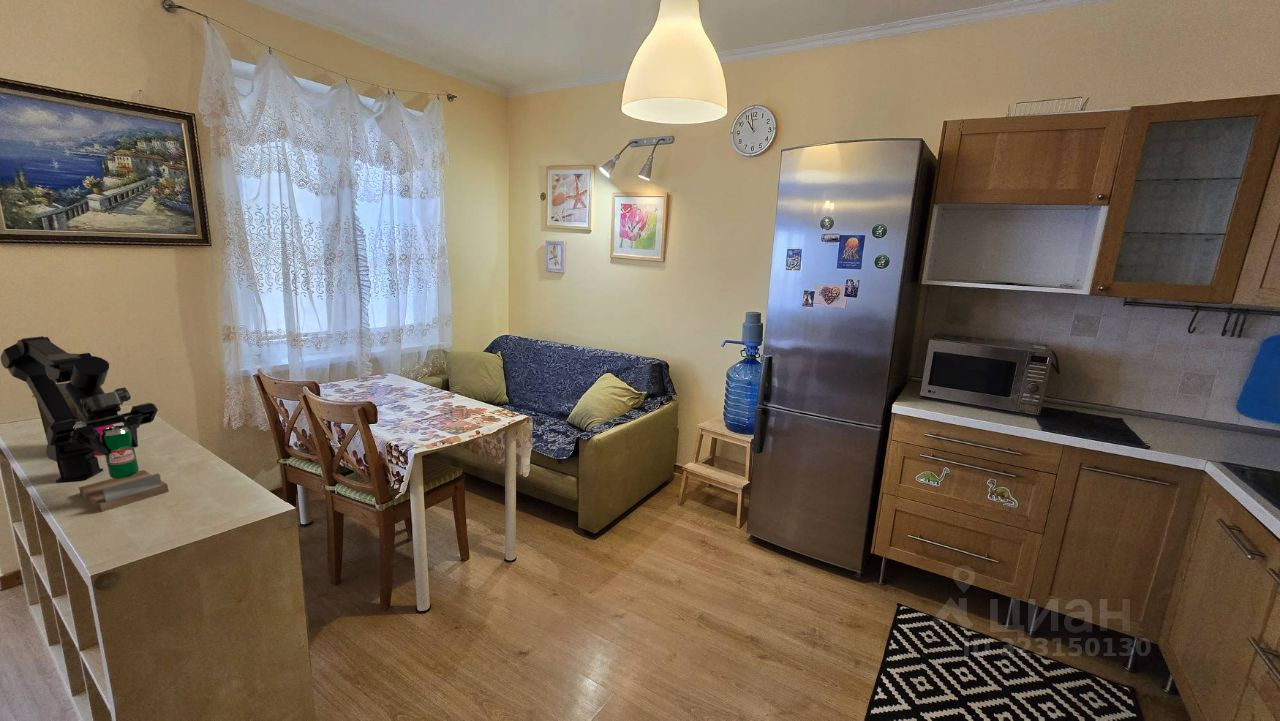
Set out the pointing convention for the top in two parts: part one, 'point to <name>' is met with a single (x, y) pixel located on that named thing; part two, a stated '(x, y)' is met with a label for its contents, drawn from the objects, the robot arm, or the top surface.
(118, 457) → the soda can
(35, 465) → the top surface
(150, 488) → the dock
